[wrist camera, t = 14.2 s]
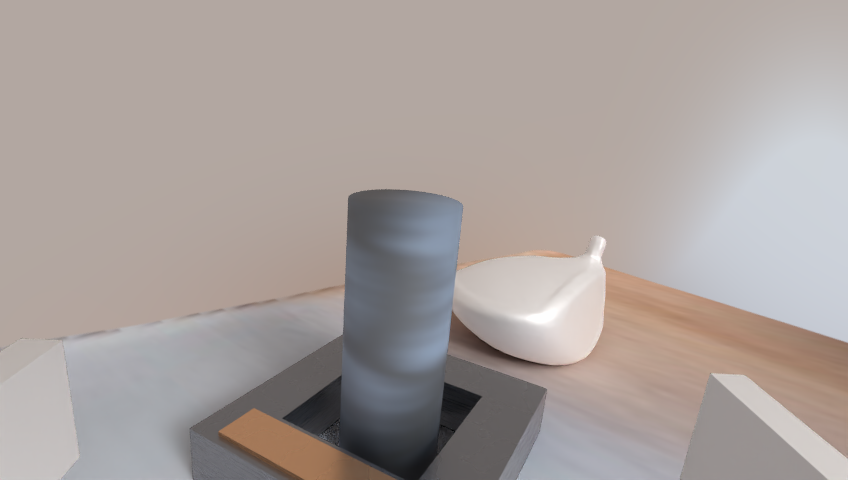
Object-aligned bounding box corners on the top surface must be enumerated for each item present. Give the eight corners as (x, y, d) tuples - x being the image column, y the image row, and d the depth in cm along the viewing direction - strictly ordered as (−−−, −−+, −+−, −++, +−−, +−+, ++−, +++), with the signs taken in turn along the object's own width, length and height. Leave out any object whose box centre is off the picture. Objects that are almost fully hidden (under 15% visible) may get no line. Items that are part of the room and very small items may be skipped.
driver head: (670, 241, 32) (538, 168, 28) (633, 396, 31) (485, 346, 26) (563, 243, 42) (451, 188, 37) (530, 361, 40) (407, 320, 35)
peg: (432, 423, 24) (456, 193, 21) (439, 493, 20) (470, 218, 17) (344, 420, 24) (354, 186, 21) (332, 490, 20) (341, 209, 16)
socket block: (358, 360, 30) (359, 321, 29) (539, 431, 25) (547, 385, 24) (193, 479, 20) (189, 424, 19) (439, 637, 15) (447, 571, 14)
